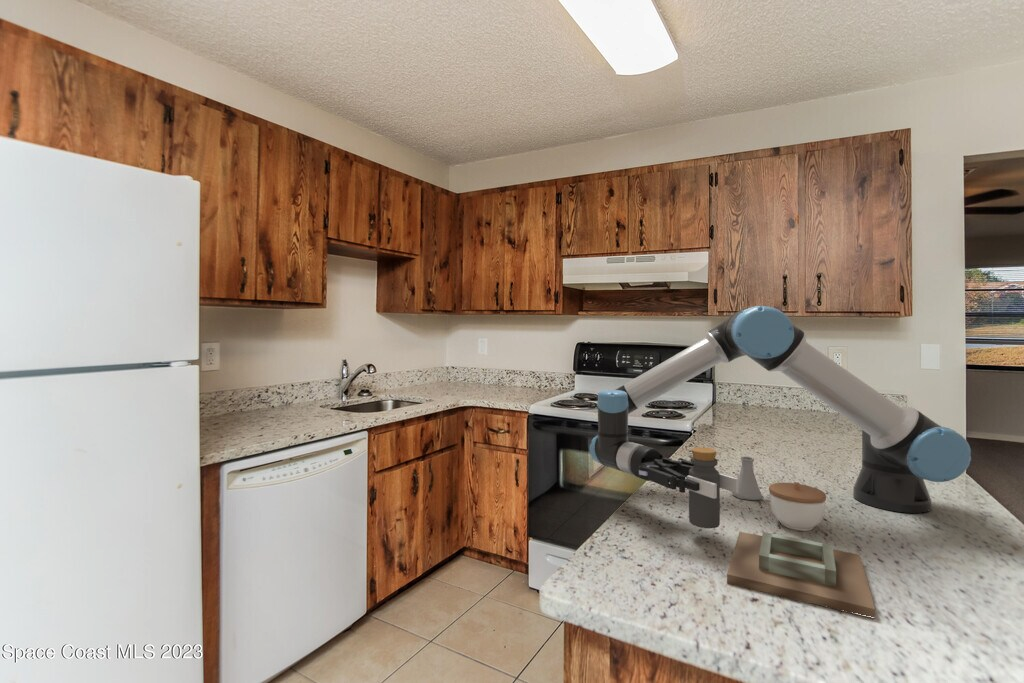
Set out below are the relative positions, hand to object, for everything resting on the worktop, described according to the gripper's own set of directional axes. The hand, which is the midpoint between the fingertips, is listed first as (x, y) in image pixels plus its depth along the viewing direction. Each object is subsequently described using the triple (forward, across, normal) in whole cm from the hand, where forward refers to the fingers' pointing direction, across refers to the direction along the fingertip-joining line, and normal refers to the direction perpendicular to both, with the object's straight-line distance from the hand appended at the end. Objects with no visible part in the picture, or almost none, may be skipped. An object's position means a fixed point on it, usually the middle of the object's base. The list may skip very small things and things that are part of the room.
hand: (726, 488), depth 93 cm
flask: (-17, -31, -12) cm, 38 cm away
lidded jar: (0, -24, -12) cm, 27 cm away
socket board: (+12, -3, -12) cm, 17 cm away
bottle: (-5, 0, -9) cm, 10 cm away
